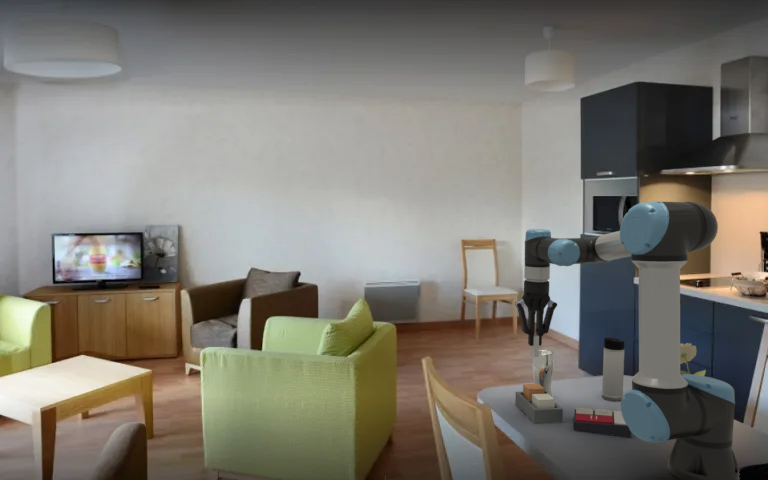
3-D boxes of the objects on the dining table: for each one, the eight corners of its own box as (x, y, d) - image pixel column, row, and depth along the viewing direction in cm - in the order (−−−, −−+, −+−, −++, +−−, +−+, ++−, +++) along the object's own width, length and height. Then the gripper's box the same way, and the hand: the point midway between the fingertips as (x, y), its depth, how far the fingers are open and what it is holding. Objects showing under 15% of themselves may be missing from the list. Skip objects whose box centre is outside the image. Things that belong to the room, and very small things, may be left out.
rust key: (544, 401, 185) (544, 388, 184) (528, 402, 184) (529, 389, 184) (538, 396, 190) (538, 383, 189) (523, 396, 189) (523, 384, 189)
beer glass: (527, 394, 200) (528, 350, 199) (545, 392, 202) (546, 348, 201) (538, 401, 193) (540, 355, 192) (557, 399, 195) (558, 353, 194)
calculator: (574, 406, 180) (629, 409, 175) (575, 420, 180) (629, 424, 175) (573, 419, 169) (630, 423, 164) (573, 434, 170) (631, 438, 165)
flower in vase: (711, 425, 174) (716, 340, 172) (722, 441, 163) (727, 350, 161) (662, 420, 177) (666, 337, 175) (669, 435, 166) (673, 346, 164)
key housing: (562, 422, 176) (562, 408, 175) (534, 423, 175) (534, 410, 174) (541, 403, 192) (541, 390, 191) (515, 404, 191) (515, 391, 190)
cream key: (554, 412, 177) (554, 399, 177) (538, 413, 177) (538, 399, 176) (547, 406, 182) (548, 393, 182) (531, 407, 181) (532, 394, 181)
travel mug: (597, 396, 198) (599, 336, 197) (612, 393, 201) (614, 334, 199) (611, 402, 192) (613, 341, 191) (626, 399, 195) (629, 339, 194)
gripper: (552, 277, 188) (549, 351, 190) (511, 278, 187) (510, 353, 189) (562, 281, 181) (559, 358, 183) (520, 282, 179) (518, 359, 181)
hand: (534, 355), depth 186 cm, fingers closed
